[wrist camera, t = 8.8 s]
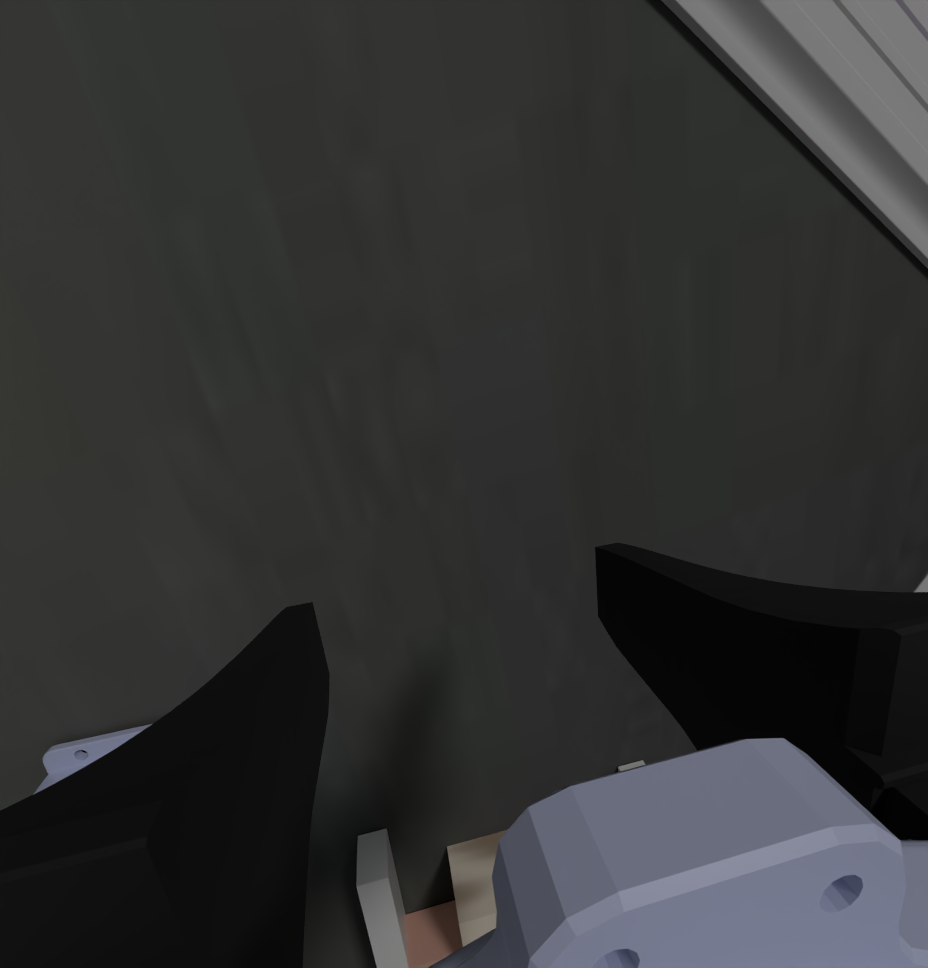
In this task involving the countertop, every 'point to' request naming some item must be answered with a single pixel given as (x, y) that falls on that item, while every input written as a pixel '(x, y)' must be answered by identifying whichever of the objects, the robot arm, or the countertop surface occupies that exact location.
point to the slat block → (474, 885)
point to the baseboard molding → (838, 89)
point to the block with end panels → (393, 935)
